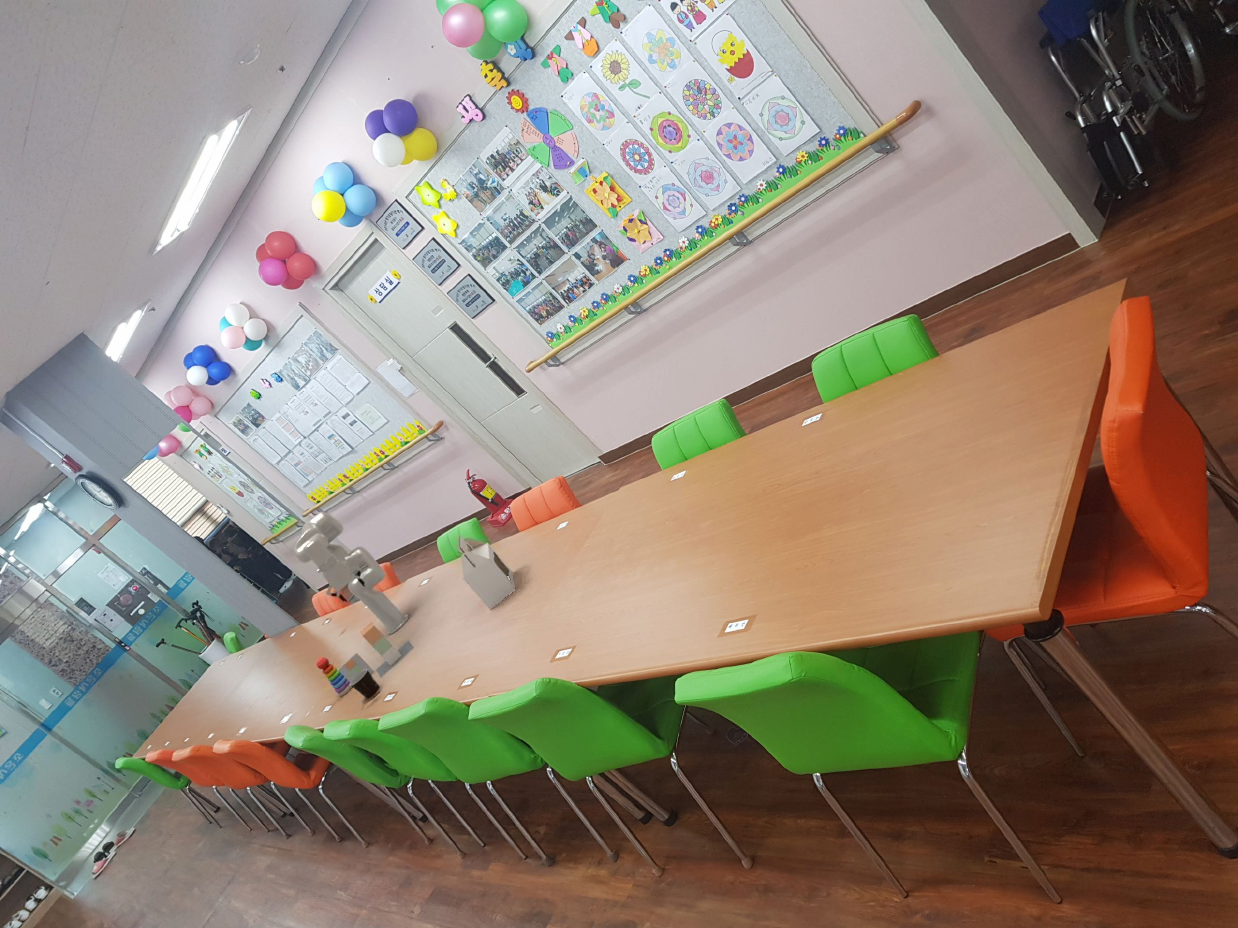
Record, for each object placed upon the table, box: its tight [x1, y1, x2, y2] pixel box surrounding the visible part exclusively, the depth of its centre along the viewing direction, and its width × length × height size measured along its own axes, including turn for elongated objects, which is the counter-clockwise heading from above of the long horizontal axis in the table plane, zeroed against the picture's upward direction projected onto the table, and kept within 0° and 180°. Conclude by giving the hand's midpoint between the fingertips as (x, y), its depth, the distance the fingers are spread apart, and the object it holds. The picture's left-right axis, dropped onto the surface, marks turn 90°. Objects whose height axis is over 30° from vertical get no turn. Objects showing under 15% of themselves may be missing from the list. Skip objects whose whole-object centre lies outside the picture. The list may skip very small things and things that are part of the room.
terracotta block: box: [360, 622, 384, 647], centre depth 348 cm, size 8×6×6 cm
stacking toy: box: [316, 657, 353, 697], centre depth 359 cm, size 8×8×19 cm
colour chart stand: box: [337, 652, 375, 683], centre depth 353 cm, size 4×10×12 cm, turn 120°
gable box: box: [457, 535, 517, 610], centre depth 338 cm, size 22×13×28 cm, turn 13°
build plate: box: [375, 640, 415, 679], centre depth 352 cm, size 14×18×1 cm
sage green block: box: [372, 633, 394, 657], centre depth 349 cm, size 8×6×6 cm
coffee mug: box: [350, 669, 381, 701], centre depth 332 cm, size 12×9×10 cm
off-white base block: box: [381, 645, 402, 666], centre depth 351 cm, size 8×6×6 cm
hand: (355, 593), depth 352 cm, fingers open, 9 cm apart
